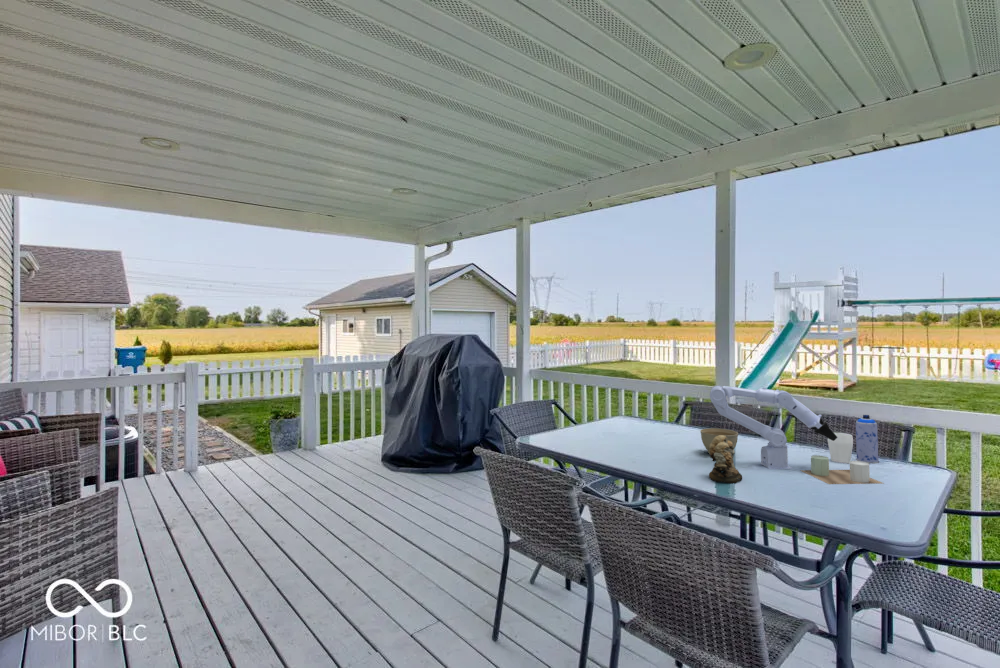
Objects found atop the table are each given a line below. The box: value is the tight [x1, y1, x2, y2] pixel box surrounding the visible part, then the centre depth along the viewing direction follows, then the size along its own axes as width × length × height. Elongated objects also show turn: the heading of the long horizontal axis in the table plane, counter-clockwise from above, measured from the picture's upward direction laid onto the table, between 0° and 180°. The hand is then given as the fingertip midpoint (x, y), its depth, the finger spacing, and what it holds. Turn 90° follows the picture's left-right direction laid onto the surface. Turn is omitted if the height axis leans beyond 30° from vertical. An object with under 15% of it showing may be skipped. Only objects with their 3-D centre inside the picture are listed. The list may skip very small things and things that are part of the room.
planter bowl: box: [699, 427, 739, 455], centre depth 223 cm, size 16×16×11 cm
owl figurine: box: [708, 435, 743, 485], centre depth 188 cm, size 18×12×17 cm, turn 150°
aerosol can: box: [855, 414, 880, 464], centre depth 206 cm, size 8×8×20 cm
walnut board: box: [800, 469, 885, 485], centre depth 184 cm, size 20×18×1 cm
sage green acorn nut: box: [810, 454, 830, 476], centre depth 189 cm, size 6×6×7 cm
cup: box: [827, 431, 854, 465], centre depth 206 cm, size 9×9×12 cm
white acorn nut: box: [849, 460, 871, 483], centre depth 179 cm, size 6×6×7 cm
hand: (833, 437), depth 192 cm, fingers open, 7 cm apart
